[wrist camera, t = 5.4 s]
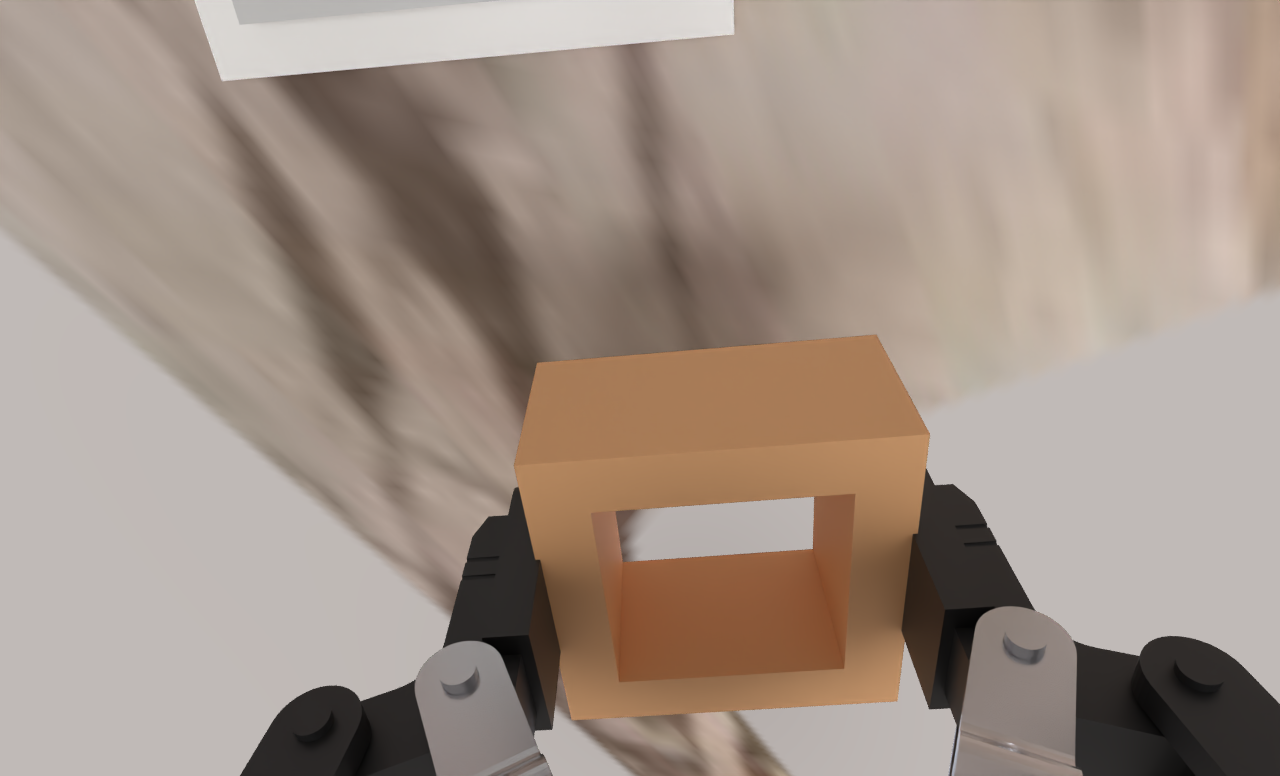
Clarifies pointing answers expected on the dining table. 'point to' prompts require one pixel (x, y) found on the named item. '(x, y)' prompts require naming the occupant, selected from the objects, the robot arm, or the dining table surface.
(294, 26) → the post base
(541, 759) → the robot arm
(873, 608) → the ring
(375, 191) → the dining table surface
